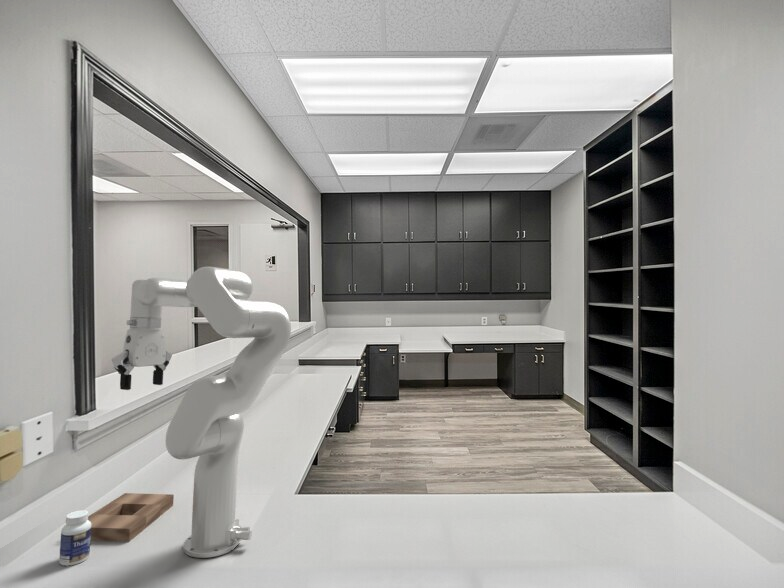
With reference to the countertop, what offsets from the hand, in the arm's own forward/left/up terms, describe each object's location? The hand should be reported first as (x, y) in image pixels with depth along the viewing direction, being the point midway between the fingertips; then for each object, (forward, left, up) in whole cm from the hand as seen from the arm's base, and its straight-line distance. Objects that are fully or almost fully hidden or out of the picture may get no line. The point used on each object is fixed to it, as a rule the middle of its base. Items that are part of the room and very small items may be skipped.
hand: (142, 386), depth 118 cm
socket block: (0, +4, -34) cm, 34 cm away
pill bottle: (0, +22, -34) cm, 41 cm away
